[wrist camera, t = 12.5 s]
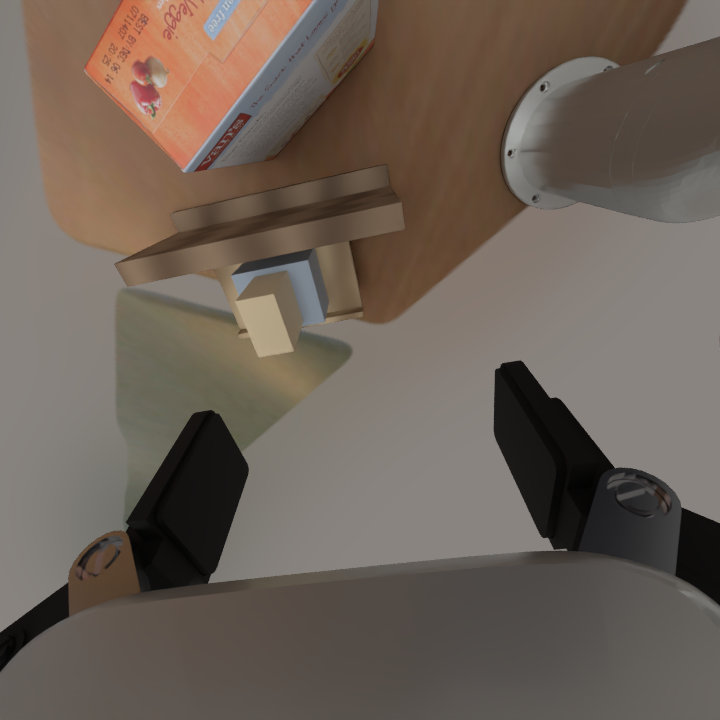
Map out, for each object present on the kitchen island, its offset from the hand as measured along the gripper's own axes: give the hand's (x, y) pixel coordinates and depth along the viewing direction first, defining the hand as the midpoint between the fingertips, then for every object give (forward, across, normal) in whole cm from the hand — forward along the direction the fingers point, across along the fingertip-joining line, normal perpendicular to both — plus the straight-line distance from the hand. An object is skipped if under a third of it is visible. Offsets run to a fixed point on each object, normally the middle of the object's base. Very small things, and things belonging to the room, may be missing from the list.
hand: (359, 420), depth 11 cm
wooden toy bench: (+32, +8, +1) cm, 33 cm away
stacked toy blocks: (+25, +8, +3) cm, 27 cm away
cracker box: (+32, +3, -14) cm, 36 cm away
